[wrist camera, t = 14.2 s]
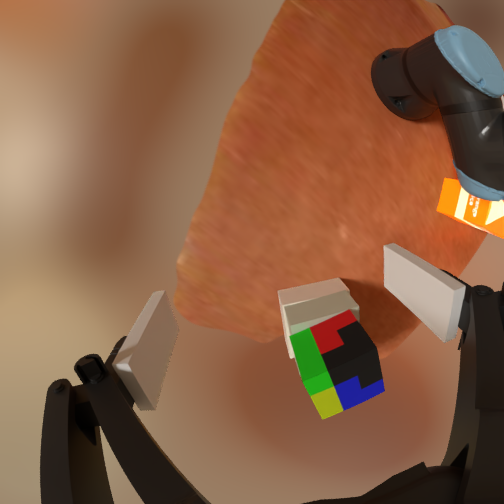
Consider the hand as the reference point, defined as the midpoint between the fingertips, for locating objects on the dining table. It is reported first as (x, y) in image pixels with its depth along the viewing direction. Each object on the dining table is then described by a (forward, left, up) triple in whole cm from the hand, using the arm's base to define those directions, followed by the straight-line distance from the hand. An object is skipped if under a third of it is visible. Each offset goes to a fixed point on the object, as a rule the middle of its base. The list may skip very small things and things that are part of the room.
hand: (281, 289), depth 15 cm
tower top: (-8, +21, -26) cm, 35 cm away
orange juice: (-44, +5, -32) cm, 55 cm away
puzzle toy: (-8, +22, -20) cm, 31 cm away
